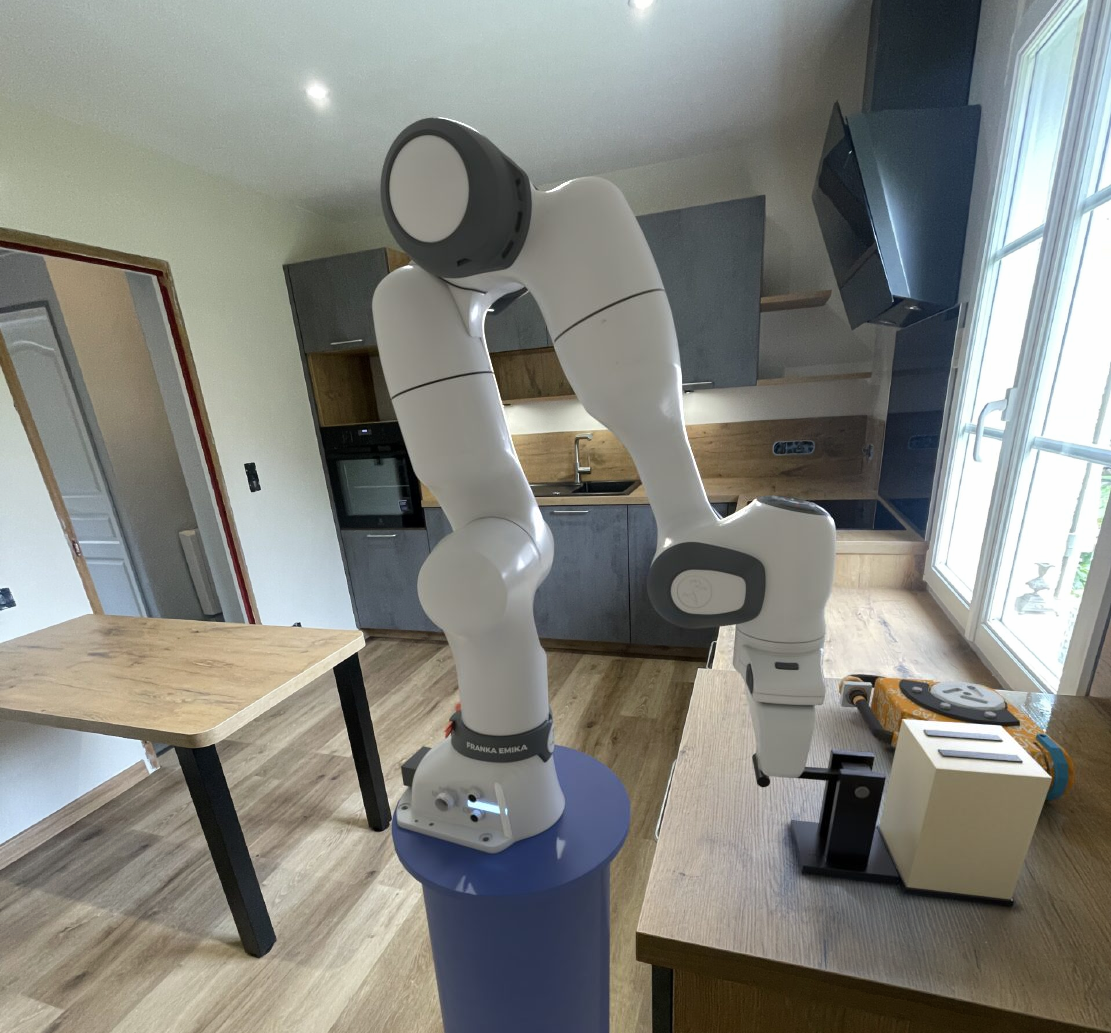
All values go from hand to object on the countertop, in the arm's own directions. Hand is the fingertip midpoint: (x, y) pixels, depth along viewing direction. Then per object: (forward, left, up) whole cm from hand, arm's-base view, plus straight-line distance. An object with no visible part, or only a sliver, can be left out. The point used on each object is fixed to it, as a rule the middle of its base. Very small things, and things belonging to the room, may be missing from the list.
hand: (764, 764), depth 66 cm
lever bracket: (+10, 0, -12) cm, 15 cm away
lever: (+5, 0, -2) cm, 5 cm away
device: (+29, +27, -12) cm, 41 cm away
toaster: (+20, 0, -12) cm, 23 cm away
